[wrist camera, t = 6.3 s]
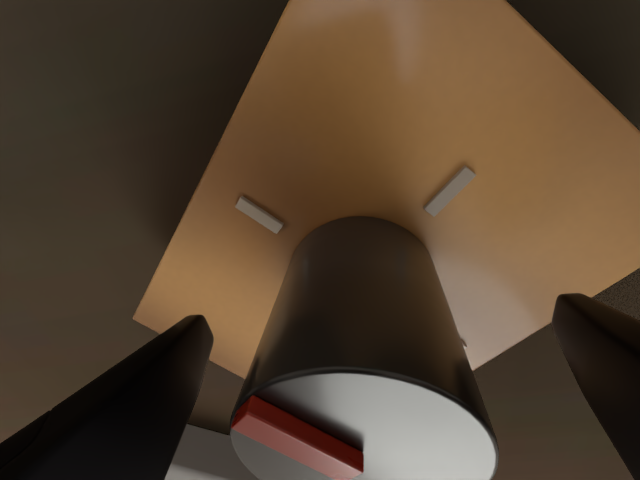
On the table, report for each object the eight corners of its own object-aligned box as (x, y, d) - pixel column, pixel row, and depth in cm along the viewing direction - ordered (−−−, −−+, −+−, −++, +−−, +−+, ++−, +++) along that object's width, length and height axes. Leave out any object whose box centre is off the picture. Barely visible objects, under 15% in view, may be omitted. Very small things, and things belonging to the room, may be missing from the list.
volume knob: (468, 272, 9) (580, 492, 4) (370, 351, 11) (375, 558, 6) (345, 183, 8) (320, 337, 3) (264, 287, 10) (181, 471, 5)
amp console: (360, 374, 17) (360, 445, 14) (178, 267, 15) (128, 322, 12) (621, 172, 10) (734, 218, 7) (360, -67, 8) (359, -152, 5)
